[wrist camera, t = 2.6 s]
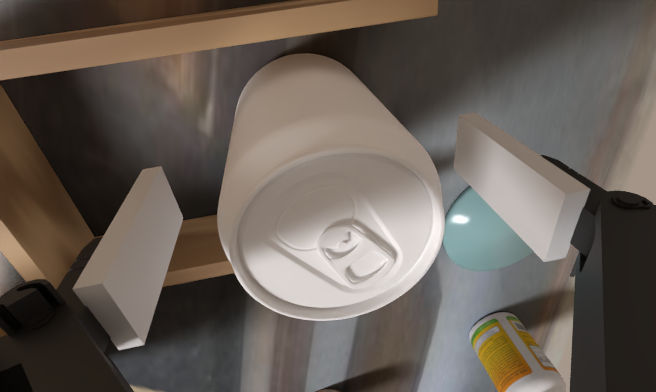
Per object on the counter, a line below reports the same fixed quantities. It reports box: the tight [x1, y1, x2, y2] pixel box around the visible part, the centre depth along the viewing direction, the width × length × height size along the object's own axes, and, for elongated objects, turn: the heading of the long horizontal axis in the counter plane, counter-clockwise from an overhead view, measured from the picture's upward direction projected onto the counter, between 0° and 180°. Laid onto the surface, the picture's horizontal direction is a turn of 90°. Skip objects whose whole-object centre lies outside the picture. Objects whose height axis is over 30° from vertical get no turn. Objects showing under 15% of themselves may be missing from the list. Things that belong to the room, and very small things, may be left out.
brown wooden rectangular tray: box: [0, 0, 438, 289], centre depth 19 cm, size 13×22×5 cm, turn 97°
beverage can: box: [217, 53, 445, 321], centre depth 16 cm, size 8×8×12 cm
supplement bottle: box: [469, 312, 566, 392], centre depth 32 cm, size 5×5×10 cm
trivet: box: [442, 186, 534, 271], centre depth 28 cm, size 10×10×1 cm
